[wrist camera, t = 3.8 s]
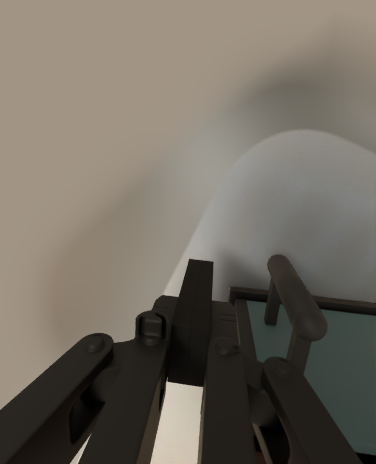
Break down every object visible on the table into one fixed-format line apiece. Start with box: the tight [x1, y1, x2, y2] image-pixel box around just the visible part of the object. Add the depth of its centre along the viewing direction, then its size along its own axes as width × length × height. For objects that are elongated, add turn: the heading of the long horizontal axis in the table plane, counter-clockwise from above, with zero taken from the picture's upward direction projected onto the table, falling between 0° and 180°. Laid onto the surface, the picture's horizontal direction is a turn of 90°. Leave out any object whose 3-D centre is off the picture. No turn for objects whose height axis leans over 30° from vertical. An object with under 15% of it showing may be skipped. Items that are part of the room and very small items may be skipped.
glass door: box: [234, 254, 376, 455], centre depth 17 cm, size 6×15×11 cm, turn 86°
